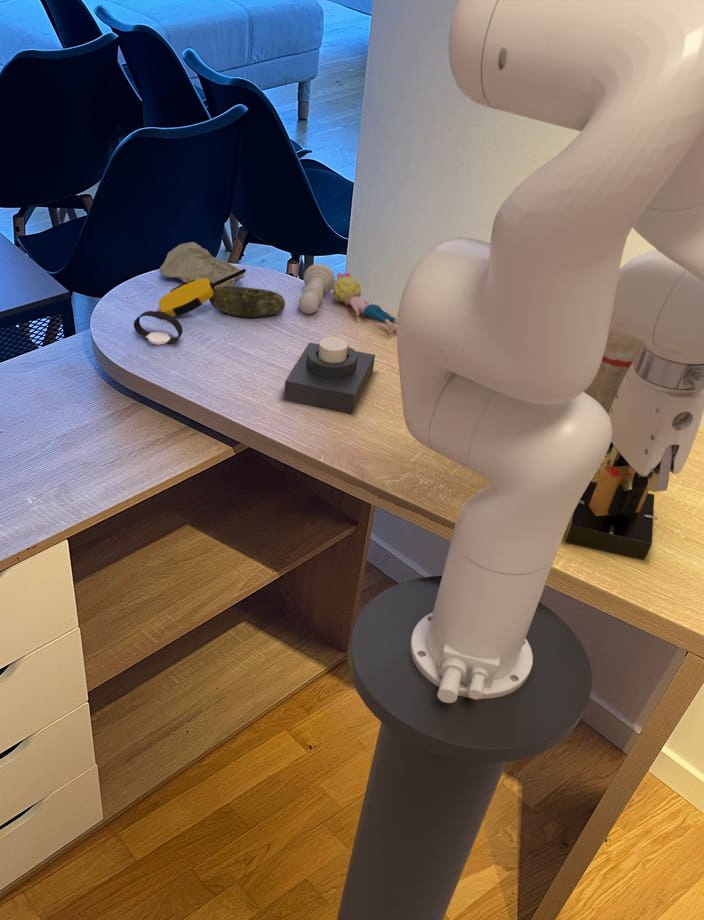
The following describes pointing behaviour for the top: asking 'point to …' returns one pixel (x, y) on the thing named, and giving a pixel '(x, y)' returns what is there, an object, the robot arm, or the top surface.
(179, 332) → the watch
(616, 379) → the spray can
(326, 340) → the white push button
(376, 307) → the figurine
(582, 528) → the panel
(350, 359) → the dark grey button base
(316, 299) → the chess piece
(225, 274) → the stone
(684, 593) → the top surface
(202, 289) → the walkie talkie
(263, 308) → the decorative stone
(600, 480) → the knob
